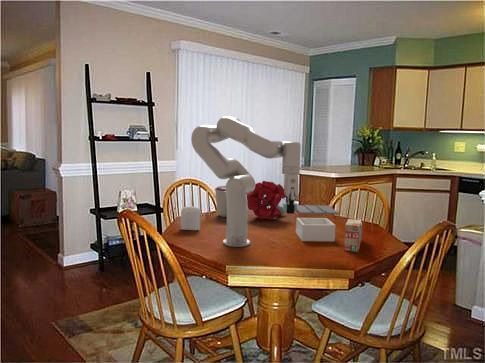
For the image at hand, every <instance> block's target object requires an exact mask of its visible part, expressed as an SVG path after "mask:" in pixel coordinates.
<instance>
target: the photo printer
mask: <svg viewBox="0 0 485 363" xmlns="http://www.w3.org/2000/svg"><path fill="white" fill-rule="evenodd" d="M180 211H181V212H180V230H184V231H186V230H187V231H197V230H198V231H200V230H201V209H200V208H199V207H197V206H192V205H191V206H190V205H189V206H187V205H186V206H184V207H181V210H180ZM198 231H197V232H198Z"/></svg>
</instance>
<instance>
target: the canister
mask: <svg viewBox="0 0 485 363" xmlns="http://www.w3.org/2000/svg"><path fill="white" fill-rule="evenodd" d="M214 192H215V193H214V194H215V203H216V210H217V215H218V216H220V217H222V218H227V196H226V185H221V186H217V187H215V188H214Z"/></svg>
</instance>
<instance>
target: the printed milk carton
mask: <svg viewBox="0 0 485 363" xmlns="http://www.w3.org/2000/svg"><path fill="white" fill-rule="evenodd" d="M344 226H345V227H344V243H343V251H347V252H355V253H359V250H360V247H361V243H362V237H363V236H362V235H363V222H362V219H356V218H355V219H353V218H352V219H351V218H348V219H347V221H346V223H345V225H344Z"/></svg>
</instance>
